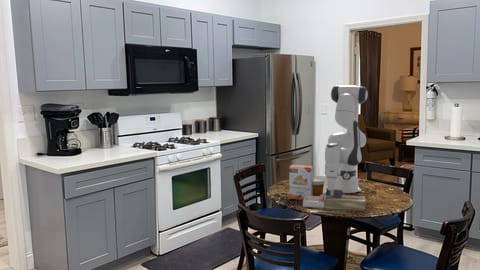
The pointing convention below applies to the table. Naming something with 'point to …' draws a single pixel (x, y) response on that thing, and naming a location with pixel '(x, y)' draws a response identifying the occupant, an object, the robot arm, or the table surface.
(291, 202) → the table surface
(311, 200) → the box
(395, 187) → the table surface
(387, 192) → the table surface
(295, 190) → the cracker box
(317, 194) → the disposable coffee cup
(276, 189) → the table surface
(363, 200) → the bench plate
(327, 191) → the grey block
